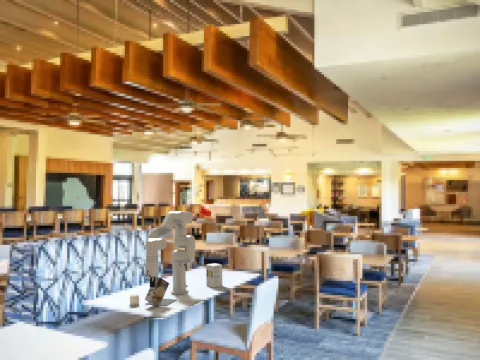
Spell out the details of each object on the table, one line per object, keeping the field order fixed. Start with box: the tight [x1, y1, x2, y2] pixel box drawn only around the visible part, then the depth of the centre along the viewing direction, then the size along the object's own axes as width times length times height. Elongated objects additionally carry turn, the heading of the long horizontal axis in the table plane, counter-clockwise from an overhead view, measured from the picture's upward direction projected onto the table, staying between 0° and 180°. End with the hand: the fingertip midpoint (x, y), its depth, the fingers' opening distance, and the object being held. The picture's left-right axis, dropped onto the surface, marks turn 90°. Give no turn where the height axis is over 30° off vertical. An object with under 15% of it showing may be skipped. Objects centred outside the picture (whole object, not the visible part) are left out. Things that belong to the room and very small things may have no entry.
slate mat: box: [145, 298, 178, 307], centre depth 277 cm, size 15×16×1 cm
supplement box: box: [205, 262, 223, 288], centre depth 322 cm, size 10×9×17 cm
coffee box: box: [144, 276, 170, 307], centre depth 270 cm, size 9×6×16 cm
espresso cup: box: [129, 294, 140, 307], centre depth 273 cm, size 6×6×6 cm
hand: (152, 286), depth 267 cm, fingers closed
